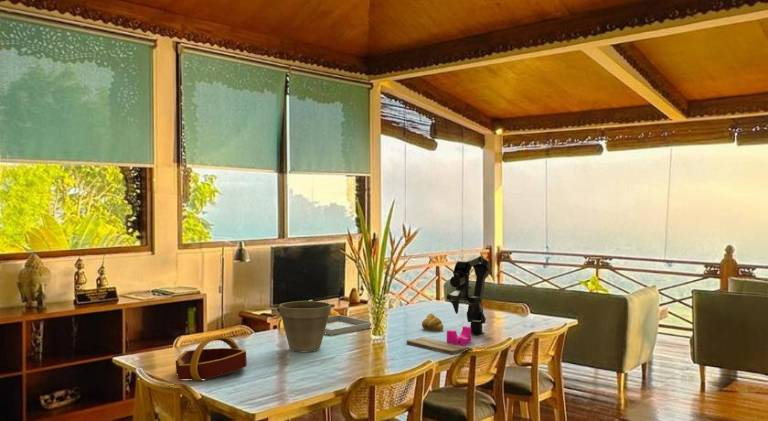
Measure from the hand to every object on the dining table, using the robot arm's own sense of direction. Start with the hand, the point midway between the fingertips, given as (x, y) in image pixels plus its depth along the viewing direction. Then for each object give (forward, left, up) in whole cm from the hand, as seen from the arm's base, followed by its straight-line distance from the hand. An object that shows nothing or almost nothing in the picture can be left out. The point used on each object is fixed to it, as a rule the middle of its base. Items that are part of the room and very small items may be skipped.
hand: (463, 314), depth 329 cm
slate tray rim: (+29, -69, -13) cm, 76 cm away
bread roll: (-7, -28, -13) cm, 32 cm away
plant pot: (+72, -39, -13) cm, 83 cm away
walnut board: (+22, +2, -13) cm, 26 cm away
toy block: (+8, +5, -13) cm, 16 cm away
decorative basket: (+124, -32, -13) cm, 128 cm away
